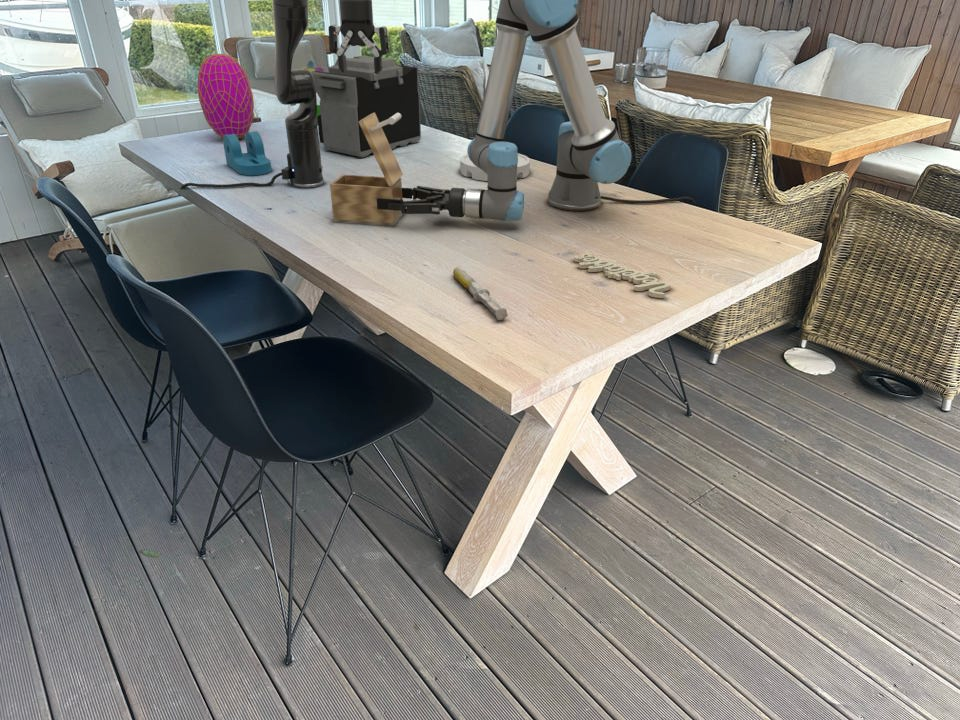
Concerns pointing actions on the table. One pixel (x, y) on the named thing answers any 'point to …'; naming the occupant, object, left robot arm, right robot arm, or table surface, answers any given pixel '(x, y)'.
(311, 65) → the potted flower
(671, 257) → the table surface
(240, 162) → the camera mount
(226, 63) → the decorative egg
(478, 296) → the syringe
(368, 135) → the lid
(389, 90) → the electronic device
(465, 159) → the ashtray
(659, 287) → the decorative sign
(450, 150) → the table surface
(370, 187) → the chest
